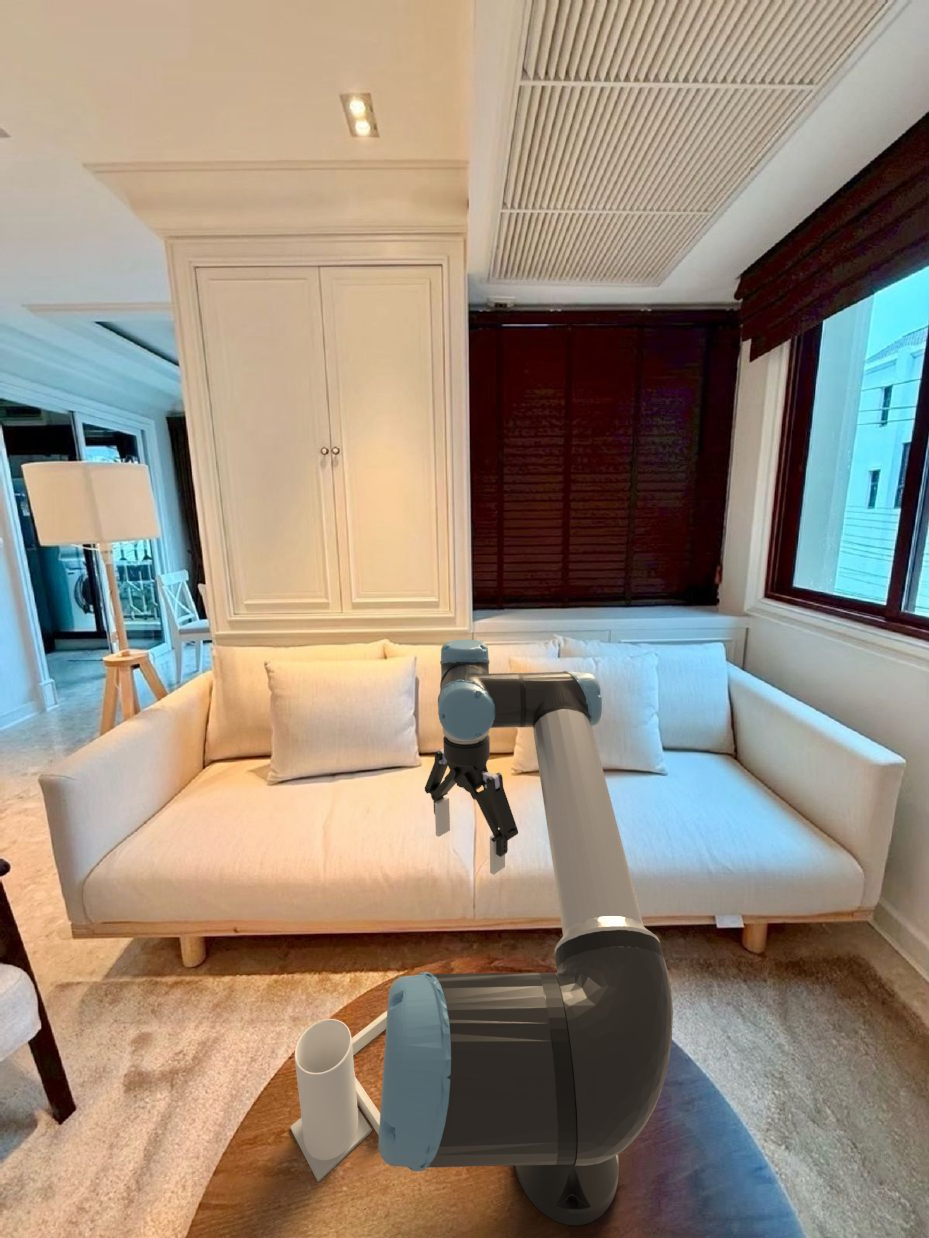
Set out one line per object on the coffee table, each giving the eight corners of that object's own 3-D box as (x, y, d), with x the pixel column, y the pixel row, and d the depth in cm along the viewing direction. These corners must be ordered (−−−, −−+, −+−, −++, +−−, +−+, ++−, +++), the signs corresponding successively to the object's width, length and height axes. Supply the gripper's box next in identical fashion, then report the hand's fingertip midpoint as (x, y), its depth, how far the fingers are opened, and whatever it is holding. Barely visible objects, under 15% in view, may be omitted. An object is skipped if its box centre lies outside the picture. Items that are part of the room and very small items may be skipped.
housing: (483, 1040, 94) (483, 1017, 93) (381, 1139, 80) (379, 1114, 78) (431, 986, 105) (430, 965, 104) (332, 1065, 90) (330, 1041, 89)
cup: (349, 1088, 86) (342, 1009, 83) (365, 1139, 79) (358, 1055, 76) (298, 1116, 82) (289, 1035, 79) (310, 1173, 75) (301, 1086, 72)
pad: (371, 1131, 81) (371, 1128, 81) (318, 1182, 75) (317, 1179, 75) (342, 1085, 87) (341, 1083, 87) (290, 1128, 81) (290, 1126, 81)
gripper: (541, 752, 78) (540, 875, 83) (435, 708, 96) (438, 811, 101) (507, 769, 73) (507, 900, 78) (402, 719, 91) (407, 827, 96)
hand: (468, 850), depth 89 cm, fingers open, 13 cm apart
